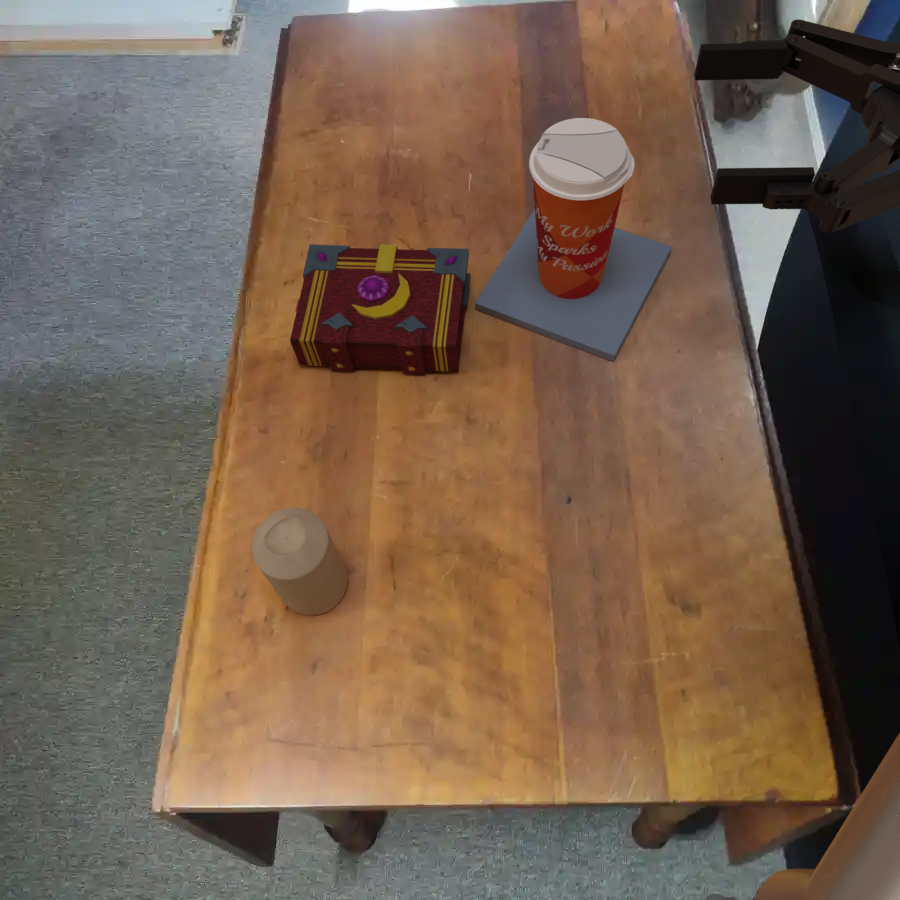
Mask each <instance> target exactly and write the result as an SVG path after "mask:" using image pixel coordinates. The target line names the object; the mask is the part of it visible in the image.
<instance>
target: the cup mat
mask: <svg viewBox="0 0 900 900" xmlns="http://www.w3.org/2000/svg"><path fill="white" fill-rule="evenodd" d="M672 249H673V246H672V245H669V244H665V243H663V242H659V241H656V240H653V239H651V238H647V237H644V236H642V235H638V234H635V233H632V232H629V231H627V230H624V229H620V228H617V227H615V228H614V232H613V236H612V240H611V245H610V249H609V253H608V258H607V262H606V266H605V270H604V274H603V277H602V280H601V282H600V284H599V286H598V287H597V289H596V290H595V291H594V292H592V293H591V294H589V295H587V296H585V297H582V298H577V299H565V298H560V297H557V296H555V295H553V294H551V293H550V292H548V291H547V290H546V289H545V288H544V286H543V285H542V283H541V281H540V277H539V270H538V255H537V236H536V218H535V208H534V209H533V210H532V212H531V214H530V215H529V217H528V218H527V220H526V222H525V224H524V225H523V227H522V228H521V229H520V231H519V233H518V234H517V236H516V238H515V239H514V241H513V242H512V244H511V246H510V247H509V248H508V250H507V252H506V253H505V255H504V256H503V258H502V260H501V261H500V263H499V264H498V266H497V267H496V268H495V270H494V272H493V274H492V275H491V277H490V279H489V280H488V281H487V283H486V285H485V286H484V288H483V290H482V291H481V293H480V294H479V296H478V297H477V299H476V300H475V302H474V309H475V311H478V312H481V313H483V314H486V315H489V316H492V317H494V318H497V319H499V320H502V321H505V322H507V323H510V324H512V325H515V326H517V327H521V328H523V329H526V330H528V331H531V332H534V333H536V334H539V335H541V336H545V337H547V338H549V339H551V340H554V341H558V342H560V343H563V344H565V345H568V346H570V347H573V348H576V349H579V350H581V351H584V352H586V353H588V354H592V355H593V356H597V357H598V358H602V359H605V360H608V361H610V362H612V363H614V362H615V360H616V358H617V356H618V355H619V353H620V351H621V349H622V347H623V345H624V343H625V341H626V339H627V337H628V335H630V334H629V333H630V331H631V330H632V328H633V327H634V324H635V322H636V320H637V319H638V316H639V314H640V312H641V310H642V308H643V307H644V305H645V303H646V301H647V299H648V297H649V296H650V294H651V292H652V289H653V288H654V286H655V284H656V282H657V281H658V278H659V277H660V274H661V272H662V271H663V269H664V267H665V265H666V263H667V261H668V259H669V257H670V255H671V253H672Z"/></svg>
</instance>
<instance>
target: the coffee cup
mask: <svg viewBox="0 0 900 900" xmlns="http://www.w3.org/2000/svg"><path fill="white" fill-rule="evenodd" d="M528 167H529V172H530V174H531V177H532V179H533V199H534V200H533V201H534V209H535V218H536V236H537V255H538V270H539V277H540V281H541V283H542V285H543V286H544V288H545V289H546V290H547V291H548V292H550V293H551V294H553V295H555V296H557V297H560V298H565V299H577V298H582V297H585V296H587V295H589V294H591V293H592V292H594V291H595V290H596V289H597V287H598V286H599V284H600V282H601V280H602V277H603V274H604V270H605V266H606V262H607V258H608V253H609V249H610V245H611V240H612V236H613V232H614V228H616V223H617V219H618V213H619V209H620V205H621V200H622V197H623V192H624V188H625V184H626V183H627V182H628V181H629V179H631V178H632V177H633V174H634V170H635V158H634V156H633V154H632V153H631V151H630V148H629V146H628V145H627V143H626V140H625V138H624V137H623V135H622V134H621V133H620V131H619V130H618V129H617V128H616V127H615V126H613V125H611V124H610V123H607V122H605V121H603V120H599V119H595V118H588V117H575V118H574V117H573V118H568V119H564V120H561V121H559V122H556V123H554V124H553V125H551V126H549V127H548V128H547V129H545V131H544V132H543V133H542V134H541V137H540V139H539V141H538V142H537V143H536V145H535V146H534V147H533V149H532V151H531V153H530V156H529V161H528Z"/></svg>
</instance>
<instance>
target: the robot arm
mask: <svg viewBox="0 0 900 900" xmlns="http://www.w3.org/2000/svg"><path fill="white" fill-rule="evenodd" d="M797 59H798V60H797ZM785 73H787V74H789V75H790V76H792V77H795V78H796V79H799V80H800V81H801V80H802V81H804V82H805V83H808V84H810V85H812V86H814V87H816V88H818V89H820V90H823V91H825V92H826V93H829V94H831V95H834V96H835V97H838V98H840V99H842V100H844V101H847V102H849V104H850V108H851V109H852V111H854V112H856V113H859V114H860V116H861V121H862V123H863V125H864V126H865V128H866V129H867V135H866V138H867V142H868V143H867V144H865V145H864V146H862V147H861V148H860V149H858V150H857V151H855V152H853V153H852V154H851V155H850V156H848V157H847V158H845V159H844V160H841V162H839V163H838V164H836V165H835V166H833V167H832V168H830V169H829V170H827V171H824V169H823V168H822V169H821V170H820V172H819V174H818V176H817V179H816V181H814V179H815V176H816V173H815V168H814V166H804V167H803V166H802V167H800V166H799V167H797V166H794V167H786V166H785V167H718V168H717V171H716V175H715V178H714V182H713V186H712V190H711V194H710V197H709V198H710V204H711V205H762V208H764V209H768V210H806V211H808V213H810V214H813V215H816V217H817V218H818V219H819V221H820V222H819V229H820V230H821V231H823V232H824V233H827V234H832V233H835V232H838V231H840V230H842V229H843V230H844V229H845V228H847V227H848V228H849V227H851V226H853V225H855V224H858V223H859V222H862V221H865V220H867V219H870V218H873V217H875V216H878V215H880V214H882V213H885V212H887V211H891V210H892V209H895V208H898V207H900V169H899V170H896V171H894V172H891V173H888V174H886V175H883V176H881V177H878V178H875V179H873V180H871V181H868V180H870V179H871V178H873V177H874V176H875V175H877V174H878V175H881V174H883V173H884V172H886V171H888V170H889V169H890V168H892V167H893V166H894V165H896V164H897V163H899V162H900V42H889V41H885V40H880V39H877V38H873V37H869V36H866V35H861V34H857V33H855V32H850V31H846V30H842V29H838V28H835V27H831V26H827V25H823V24H820V23H815V22H812V21H808V20H804V19H799V18H797V19H793V20H792V21H791V22H790V26H789V29H788V32H787V34H786V36H785V37H784V38H782V39H765V40H763V39H762V40H745V41H742V42H736V43H735V42H733V43H732V42H731V43H730V42H729V43H701V44H700V46H699V49H698V56H697V61H696V65H695V69H694V80H695V81H733V80H734V81H736V80H737V81H738V80H740V81H741V80H742V81H743V80H779V78H780V77H782V75H784V74H785ZM876 83H877V84H879V85H880V86H878V87H877V88H875V89H874V87H875V84H876ZM873 89H874V90H873ZM867 181H868V182H867ZM865 182H866V183H865ZM704 900H738V899H737V898H735V896H729V897H728V896H725V895H722V894H719V893H711V894H708V895H707V896H706V898H705V899H704ZM752 900H900V732H899V733H898V734H897V735H896V737H895V739H894V741H893V743H891V745H890V747H889V749H888V751H887V752H886V754H885V755H884V757H883V759H882V760H881V762H880V763H879V765H878V767H877V768H876V770H875V771H874V773H873V775H872V776H871V778H870V779H869V781H868V782H867V784H866V786H865V788H864V789H863V791H862V792H861V794H860V796H859V797H858V799H857V800H856V802H855V803H854V805H853V807H852V809H851V810H850V812H849V814H848V816H847V817H846V818H845V820H844V822H843V823H842V825H841V826H840V828H839V830H838V832H837V833H836V835H835V836H834V838H833V840H832V842H831V843H830V844H829V846H828V848H827V850H826V851H825V853H824V854H823V856H822V857H821V859H820V860H819V862H818V863H817V865H816V867H815V868H802V867H801V868H799V867H798V868H786V869H783V870H780V871H777V872H774V873H773V874H771V875H770V876H768V877H767V878H766V880H765V881H764V882H763V883H762V884H761V885H760V886H759V888H758V889H757V891H756V893H755V895H754V897H753V898H752Z"/></svg>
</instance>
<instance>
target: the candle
mask: <svg viewBox="0 0 900 900" xmlns="http://www.w3.org/2000/svg"><path fill="white" fill-rule="evenodd" d="M334 543H335V542H334V541H333V540H332V537H331V535H330V533H329V531H328V528H327V526H326V525H325V523H324V522H323V520H322V519H321V518H320V517H319V516H318V515H317V514H316V513H314V512H313V511H311V510H308V509H306V508H303V507H287V508H283V509H279V510H277V511H275V512H273V513H271V514H270V515H268V516H267V517H265V519H264V520H263V521H262V522H261V523H260V524H259V525H258V527H257V528H256V530H255V532H254V534H253V537H252V540H251V555H252V559H253V561H254V564H255V566H257V569H259V571H260V572H261V573H262V574H263V576H264V577H265V579H266V580H267V581H268V582H269V584H270V585H271V587H272V588H273V590H274V591H275V592H276V593H277V595H278V596H279V597H280V599H281V600H282V602H283V603H284V604H285V605H286V606H287V608H289V609H290V610H292V611H293V612H295V613H296V614H300V615H303V616H307V617H308V616H310V617H311V616H312V617H313V616H319V615H323V614H326V613H327V612H329V611H331V610H333V609H334V608H335V607H336V606H337V605H339V603H340V602H341V601H342V599H343V598H344V596H345V594H346V591H347V587H348V572H347V568H346V566H345V563H344V562H343V559H342V557H341V555H340V553H339V552H338V549H337V547H336V545H335V544H334Z"/></svg>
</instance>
